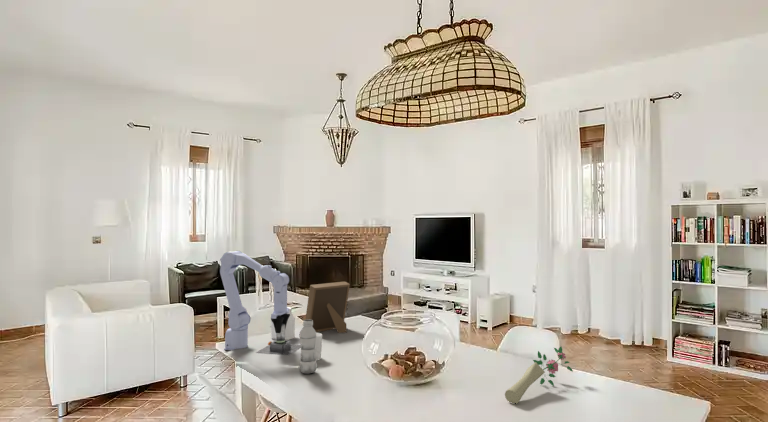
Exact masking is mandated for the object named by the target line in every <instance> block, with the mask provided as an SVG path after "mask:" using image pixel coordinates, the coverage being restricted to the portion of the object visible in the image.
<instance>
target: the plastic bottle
mask: <svg viewBox="0 0 768 422" xmlns="http://www.w3.org/2000/svg"><path fill="white" fill-rule="evenodd" d="M302 326H303V327H302V328H301V330H300V332H299V335H298V336H299V343H300V344H299V345H301V348H300V360H299V367H298V368H299V372H301V373H302V374H307V375H308V374H314V373H315V372H316V371H317V366H318V364H317V360H316V357H315V343H316V333H317V332H316V331H315V330H314V328H313V327H312V326H313V320H305V319H304V320H302Z"/></svg>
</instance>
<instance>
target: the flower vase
mask: <svg viewBox="0 0 768 422" xmlns="http://www.w3.org/2000/svg"><path fill="white" fill-rule="evenodd" d="M553 348H554V349H553V350H554V351H555V353H556V355H557V357H558V359H557V360H554V359H551V360H550V359H549V360H548V359H547V356H546V354H545V353H544V354H541V352H540V351H539V350H538V351H537V358H538V359H539V360H537V359H532V361H533V362H534V363H533V364H531V365H530V366H529V367H527V369H526V371H525V372H524V373H523V375H522V376H521V378H520V379H519V380H517V382H516V383H514V384H513V385H512V386H511V387H509V388H508V389H507V390H505V393H504V397H505V399H506V400H507V402H508V401H509V402H508V403H510V402H512V403H516V404H515V405H517V404H519V402H520V400H521V399H522V398H523V396H524V395H525V393H526V391H527V390H528V389H529V387H530V386H531V385H533V384H534V383H535V382H536V381H538V379H540V381H539V384H541V385H543V384H544V383H545V381H546V380H545V378H546V379H547V382H548V383H549V384H550V385H552V386H553V387H555V384H554V382H553V381H552V379H548V378H547V377H546V375H545V373H546V372H545V370H546V369H547V371H548V373H549V374H548V376H549V378H556V377H557V376H556V372H558V371H559V365H561V363H559V360H561V361H564V359H565V360H566V358H567V356H566V354H565V352H563V347H562V346H559V348H557V347H553ZM542 355H543V356H542ZM541 359H542V360H543V361H542V360H541ZM547 360H548V361H547ZM544 361H547V362H546V364H545V365H544ZM569 363H571V362H570V361H568V360H567V361H564V363H563V365H564V364H569ZM540 365H541V366H540ZM545 366H546V367H545ZM542 367H543V368H542ZM566 368H567V370H569V371H570V372H572V373H573V372H574V370H573V369H572V367H570V366H569V365H567V366H566ZM543 375H544V377H541V376H543Z"/></svg>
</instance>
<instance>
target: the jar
mask: <svg viewBox="0 0 768 422" xmlns="http://www.w3.org/2000/svg"><path fill="white" fill-rule="evenodd" d="M287 308H289V313H287V314H290V316H289V318H288V321H287V324H286V328H285V340H288V341H289V340H291V339H296V335H295V332H296V331H295V330H296V329H295V328H296V327H295V326H296V325H295V323H296V318H295V316H294V314H293V313H292V307H289V306H287ZM270 339H273V340H276V332H275V328H274V324H273V322H272V320H271V319H270Z"/></svg>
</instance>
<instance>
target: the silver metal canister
mask: <svg viewBox="0 0 768 422" xmlns="http://www.w3.org/2000/svg"><path fill="white" fill-rule="evenodd" d="M275 340H276V343H277V344H283V343H285V324H283V323H282V328H281V333H276V339H275Z"/></svg>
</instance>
